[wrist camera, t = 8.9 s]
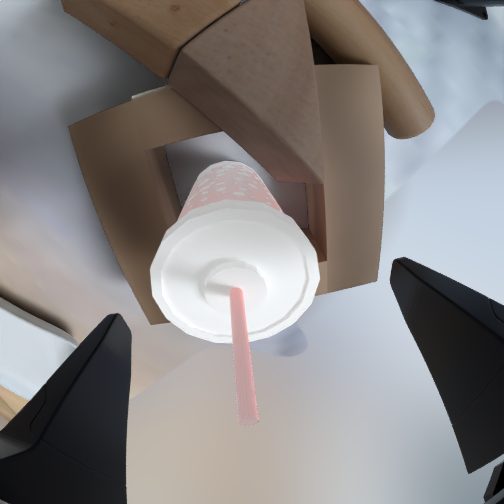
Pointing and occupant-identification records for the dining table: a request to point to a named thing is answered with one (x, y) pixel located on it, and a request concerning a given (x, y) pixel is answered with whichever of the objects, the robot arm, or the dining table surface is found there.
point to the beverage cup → (234, 269)
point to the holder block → (197, 124)
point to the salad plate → (29, 350)
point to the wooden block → (261, 67)
